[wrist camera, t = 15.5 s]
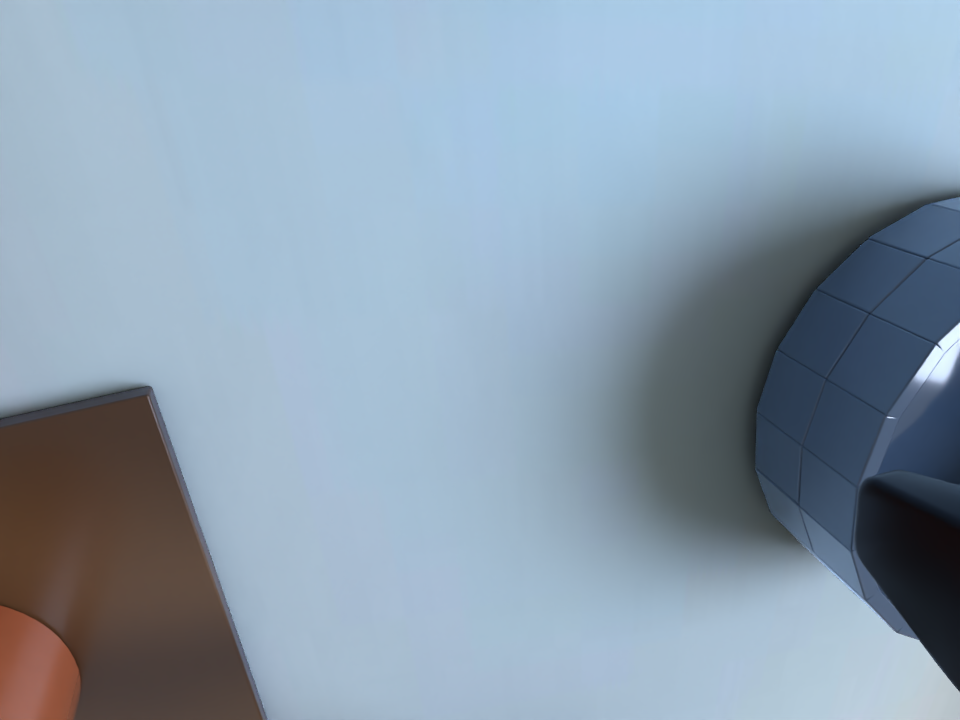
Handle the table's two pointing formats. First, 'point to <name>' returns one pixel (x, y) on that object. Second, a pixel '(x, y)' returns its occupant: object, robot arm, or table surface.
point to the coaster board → (118, 562)
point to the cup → (35, 671)
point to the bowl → (866, 390)
